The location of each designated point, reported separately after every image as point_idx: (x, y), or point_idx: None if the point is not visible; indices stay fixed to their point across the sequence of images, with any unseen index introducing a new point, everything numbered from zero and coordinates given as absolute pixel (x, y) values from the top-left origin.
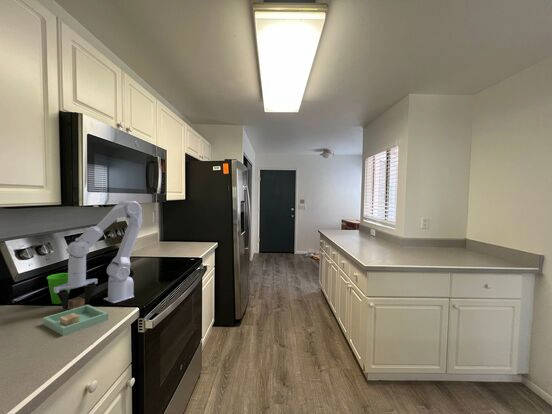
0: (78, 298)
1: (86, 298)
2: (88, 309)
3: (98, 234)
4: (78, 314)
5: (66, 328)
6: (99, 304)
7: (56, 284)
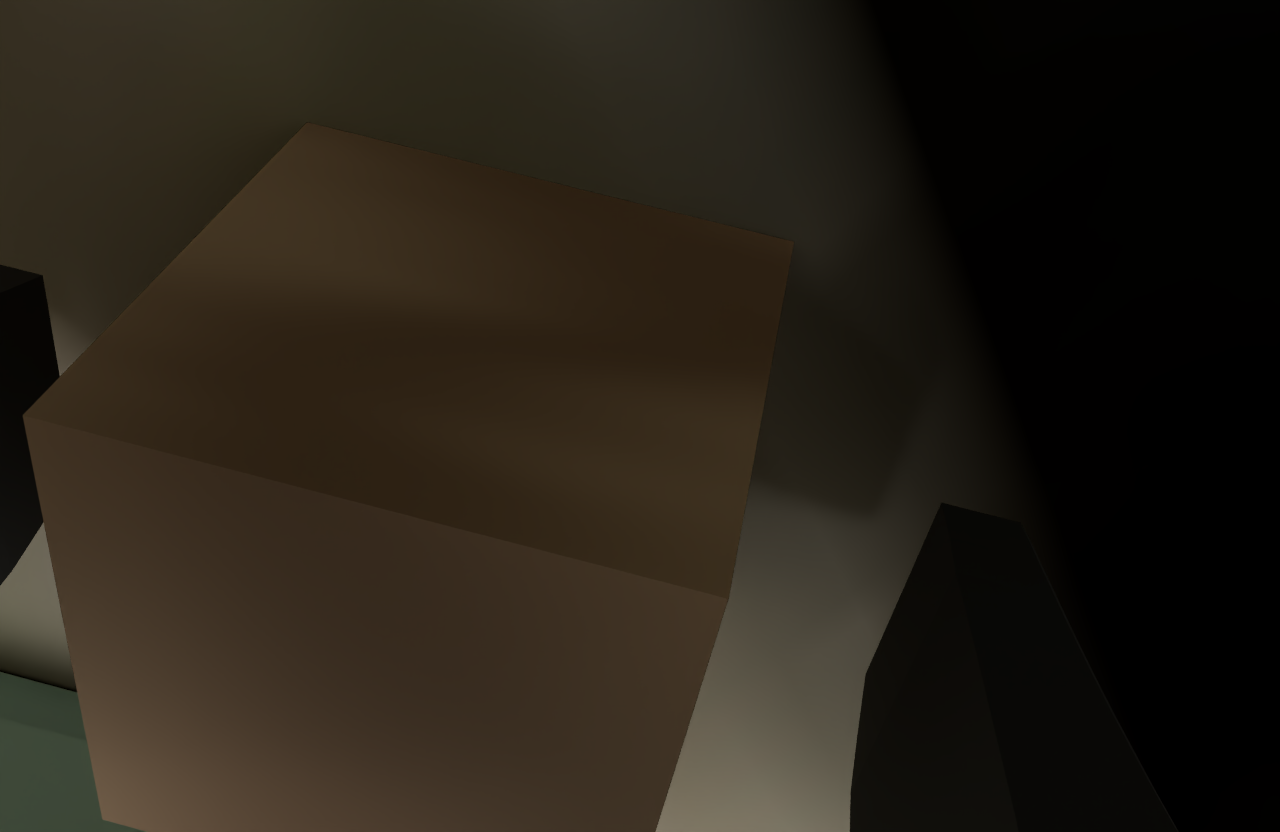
0: (507, 722)
1: (894, 802)
2: None
3: None
4: None
5: None
6: (1230, 751)
7: None
